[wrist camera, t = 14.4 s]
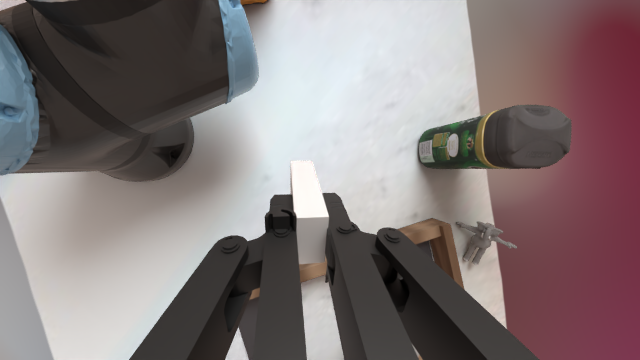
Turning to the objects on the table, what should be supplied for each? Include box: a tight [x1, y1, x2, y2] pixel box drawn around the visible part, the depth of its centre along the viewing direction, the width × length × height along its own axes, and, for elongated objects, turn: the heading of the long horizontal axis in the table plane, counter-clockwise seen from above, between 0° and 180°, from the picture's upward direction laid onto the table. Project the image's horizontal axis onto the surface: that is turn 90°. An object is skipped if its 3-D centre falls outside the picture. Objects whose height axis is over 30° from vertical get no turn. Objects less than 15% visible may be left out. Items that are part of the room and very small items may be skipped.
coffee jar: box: [419, 105, 571, 169], centre depth 35 cm, size 10×8×19 cm
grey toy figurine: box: [456, 222, 517, 265], centre depth 44 cm, size 10×6×9 cm
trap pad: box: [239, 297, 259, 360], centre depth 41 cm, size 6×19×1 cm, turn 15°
